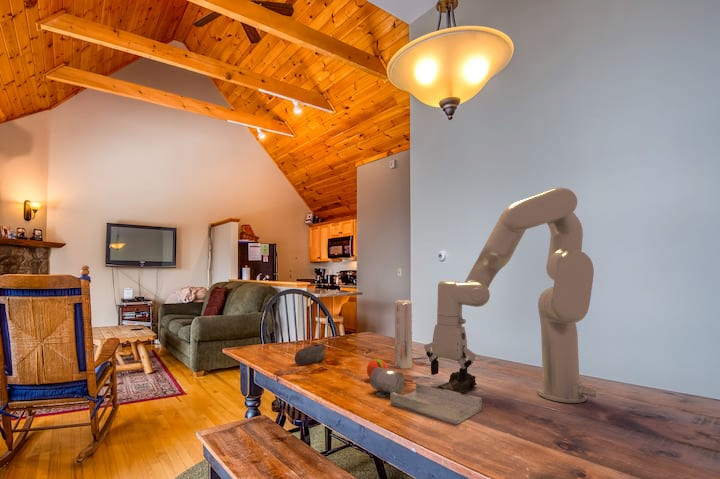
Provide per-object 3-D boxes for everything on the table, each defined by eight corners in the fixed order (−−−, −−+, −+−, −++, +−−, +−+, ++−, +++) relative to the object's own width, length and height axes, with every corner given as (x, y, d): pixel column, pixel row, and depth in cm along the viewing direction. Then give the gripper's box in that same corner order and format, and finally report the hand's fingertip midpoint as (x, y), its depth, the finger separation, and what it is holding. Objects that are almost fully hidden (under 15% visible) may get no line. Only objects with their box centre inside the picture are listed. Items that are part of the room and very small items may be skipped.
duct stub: (405, 393, 113) (405, 369, 113) (390, 399, 107) (390, 374, 108) (384, 388, 118) (384, 365, 119) (369, 393, 113) (369, 369, 113)
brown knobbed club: (449, 404, 106) (448, 383, 107) (429, 398, 111) (428, 378, 111) (479, 390, 119) (479, 371, 119) (460, 385, 123) (460, 367, 124)
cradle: (481, 409, 100) (481, 398, 100) (456, 424, 90) (456, 411, 90) (418, 393, 113) (418, 382, 113) (390, 404, 103) (390, 393, 104)
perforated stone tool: (298, 368, 142) (298, 349, 143) (290, 365, 146) (290, 347, 147) (329, 361, 153) (329, 343, 153) (320, 359, 157) (321, 342, 157)
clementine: (392, 383, 123) (392, 360, 124) (373, 385, 121) (373, 362, 121) (382, 376, 131) (382, 355, 131) (363, 378, 128) (363, 357, 129)
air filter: (392, 365, 146) (392, 300, 149) (407, 364, 148) (407, 299, 150) (399, 369, 140) (398, 301, 142) (415, 368, 142) (414, 300, 144)
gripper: (481, 323, 114) (480, 381, 113) (432, 317, 126) (430, 369, 125) (469, 325, 109) (468, 386, 108) (419, 318, 121) (417, 373, 119)
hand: (448, 377), depth 116 cm, fingers open, 9 cm apart
